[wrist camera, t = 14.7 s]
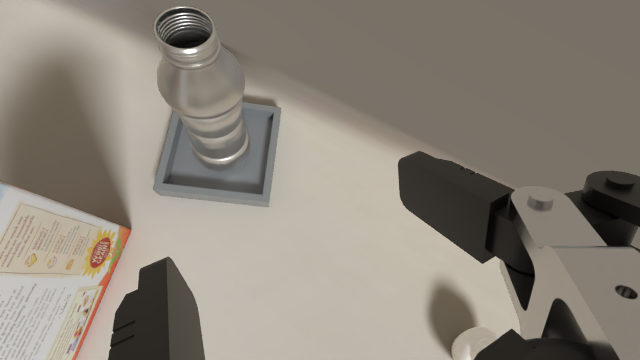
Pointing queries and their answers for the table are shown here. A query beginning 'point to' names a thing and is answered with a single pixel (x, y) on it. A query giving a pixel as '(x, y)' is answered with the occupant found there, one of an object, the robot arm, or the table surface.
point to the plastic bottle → (202, 87)
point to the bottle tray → (231, 187)
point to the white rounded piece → (472, 343)
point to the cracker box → (51, 274)
